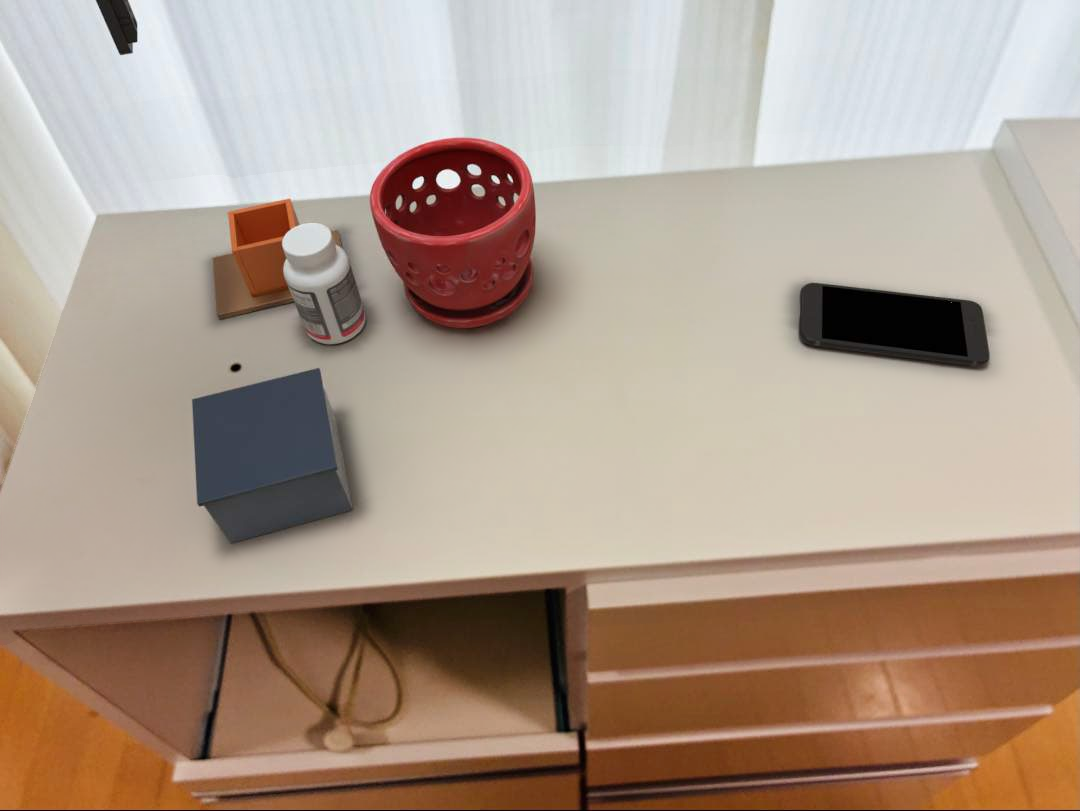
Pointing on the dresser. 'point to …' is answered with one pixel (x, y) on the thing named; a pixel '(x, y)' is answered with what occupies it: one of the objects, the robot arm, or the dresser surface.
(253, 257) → the orange tub
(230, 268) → the cork mat
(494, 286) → the flower pot
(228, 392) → the blue tin
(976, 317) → the smartphone
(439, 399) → the dresser surface
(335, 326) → the pill bottle
